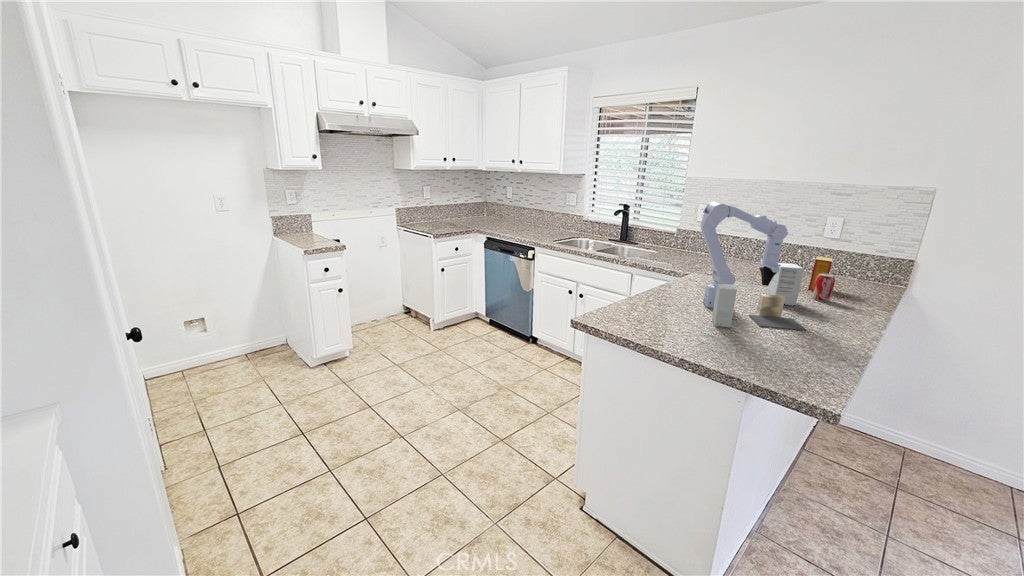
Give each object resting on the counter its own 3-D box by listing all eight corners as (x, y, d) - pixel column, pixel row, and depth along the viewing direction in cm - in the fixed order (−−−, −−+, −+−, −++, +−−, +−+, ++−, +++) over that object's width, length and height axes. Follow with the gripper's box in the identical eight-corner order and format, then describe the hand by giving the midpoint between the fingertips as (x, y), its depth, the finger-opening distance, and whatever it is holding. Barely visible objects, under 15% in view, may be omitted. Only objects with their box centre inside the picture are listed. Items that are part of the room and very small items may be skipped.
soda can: (813, 301, 195) (819, 275, 192) (809, 296, 202) (815, 272, 198) (831, 303, 193) (838, 277, 189) (827, 299, 199) (833, 273, 196)
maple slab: (759, 316, 173) (763, 296, 171) (756, 313, 176) (760, 294, 174) (780, 318, 172) (785, 298, 170) (777, 315, 175) (781, 295, 173)
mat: (759, 326, 162) (760, 325, 162) (748, 315, 174) (749, 314, 173) (806, 330, 160) (806, 329, 160) (792, 319, 171) (792, 318, 171)
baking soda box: (809, 286, 220) (817, 255, 215) (825, 288, 216) (833, 257, 211) (808, 290, 212) (815, 258, 208) (824, 292, 209) (832, 260, 204)
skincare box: (730, 328, 160) (738, 290, 155) (713, 326, 161) (720, 288, 157) (727, 320, 167) (734, 284, 163) (710, 318, 169) (717, 282, 165)
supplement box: (796, 306, 188) (805, 268, 183) (773, 304, 189) (781, 266, 184) (787, 299, 197) (795, 263, 192) (765, 297, 198) (773, 261, 193)
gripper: (790, 257, 168) (782, 290, 172) (775, 250, 182) (768, 281, 186) (770, 256, 169) (763, 289, 173) (757, 249, 183) (751, 279, 187)
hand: (765, 285), depth 180 cm, fingers closed
